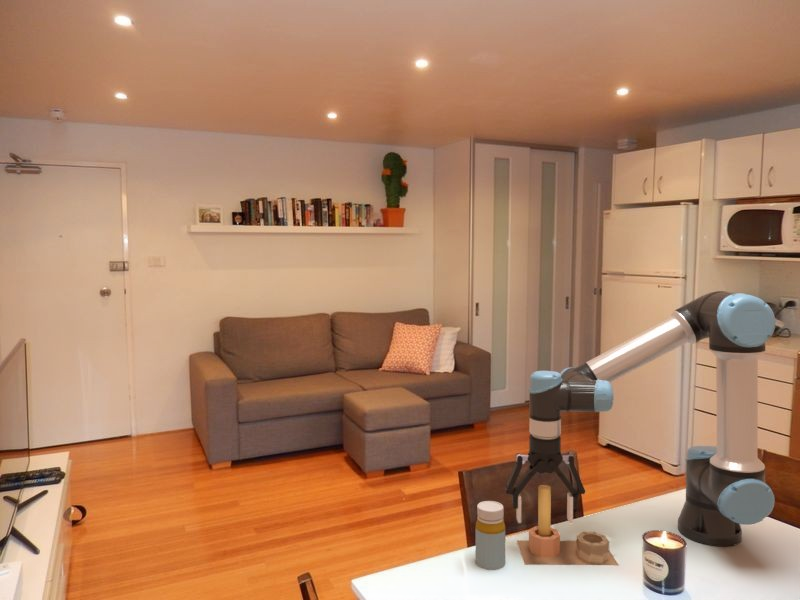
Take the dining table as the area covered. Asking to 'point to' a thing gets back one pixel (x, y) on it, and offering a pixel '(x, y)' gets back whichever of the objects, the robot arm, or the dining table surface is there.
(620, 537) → the dining table surface
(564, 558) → the lacing board
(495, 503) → the bottle
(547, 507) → the dowel
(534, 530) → the bead rust
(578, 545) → the bead beech
